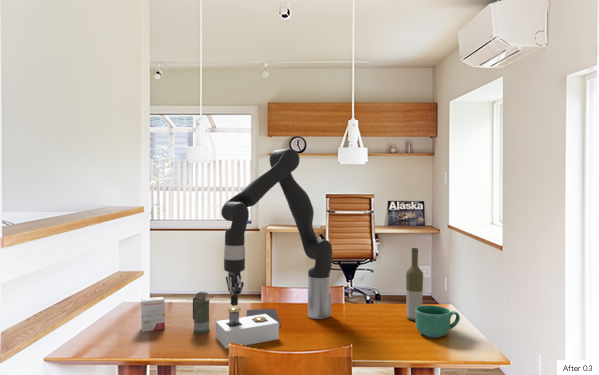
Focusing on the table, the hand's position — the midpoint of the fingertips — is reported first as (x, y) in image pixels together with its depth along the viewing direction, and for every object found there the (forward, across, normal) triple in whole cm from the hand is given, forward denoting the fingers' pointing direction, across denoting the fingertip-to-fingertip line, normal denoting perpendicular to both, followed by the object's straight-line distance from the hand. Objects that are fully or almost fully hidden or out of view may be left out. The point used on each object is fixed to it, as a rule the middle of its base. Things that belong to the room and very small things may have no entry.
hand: (234, 304), depth 154 cm
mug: (+13, -29, -71) cm, 78 cm away
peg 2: (+13, 0, -10) cm, 16 cm away
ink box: (+13, +26, +24) cm, 38 cm away
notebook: (+14, +18, -19) cm, 30 cm away
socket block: (+13, 0, -5) cm, 14 cm away
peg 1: (+8, 0, 0) cm, 8 cm away
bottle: (+13, -11, -76) cm, 78 cm away
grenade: (+13, +15, +8) cm, 21 cm away
